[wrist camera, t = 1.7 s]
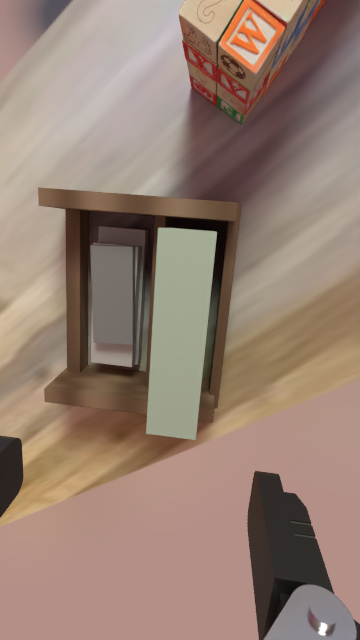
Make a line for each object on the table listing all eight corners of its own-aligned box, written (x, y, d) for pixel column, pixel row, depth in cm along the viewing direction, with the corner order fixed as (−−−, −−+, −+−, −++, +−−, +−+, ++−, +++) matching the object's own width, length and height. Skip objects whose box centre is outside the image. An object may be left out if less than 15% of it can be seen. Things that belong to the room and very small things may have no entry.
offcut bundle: (149, 230, 37) (139, 230, 33) (141, 358, 41) (131, 375, 36) (104, 226, 38) (88, 225, 33) (101, 353, 42) (86, 369, 37)
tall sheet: (216, 231, 36) (217, 232, 23) (202, 370, 41) (195, 440, 27) (179, 228, 37) (158, 227, 23) (169, 366, 41) (145, 433, 27)
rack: (238, 207, 35) (243, 202, 29) (217, 391, 41) (217, 423, 34) (70, 195, 37) (38, 187, 30) (71, 374, 42) (44, 401, 36)
